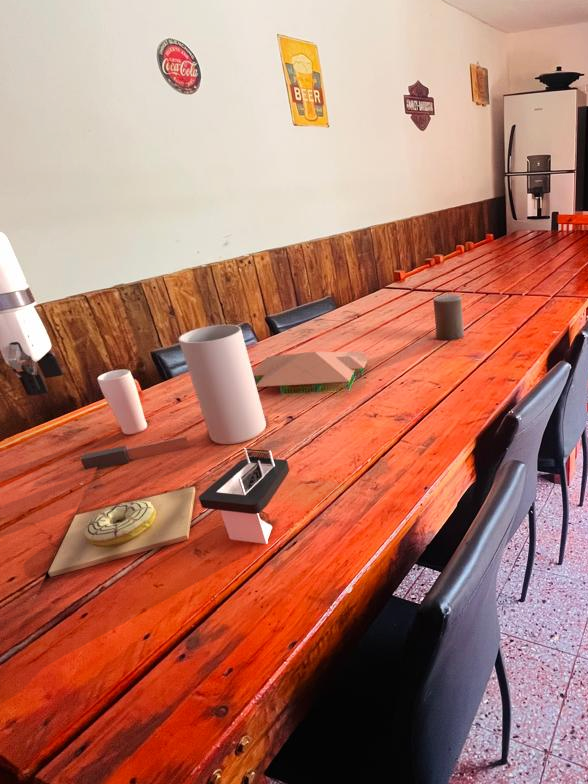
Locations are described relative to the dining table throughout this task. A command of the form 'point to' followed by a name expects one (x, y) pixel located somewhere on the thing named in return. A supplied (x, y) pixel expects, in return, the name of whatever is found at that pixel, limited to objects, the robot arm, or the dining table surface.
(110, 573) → the dining table surface
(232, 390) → the cylinder vase
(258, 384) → the house
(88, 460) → the knife
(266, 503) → the black-topped pedestal
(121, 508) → the decorated donut
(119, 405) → the white mug
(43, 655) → the dining table surface
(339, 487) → the dining table surface
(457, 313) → the pillar candle
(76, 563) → the cutting board
